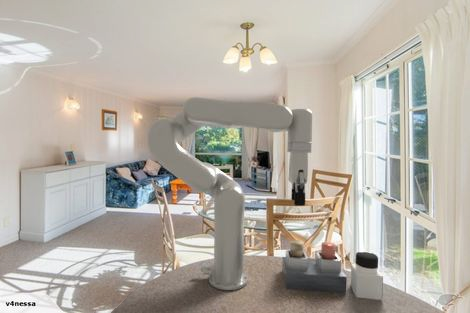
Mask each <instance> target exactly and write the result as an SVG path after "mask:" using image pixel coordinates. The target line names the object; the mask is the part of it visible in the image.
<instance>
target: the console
mask: <svg viewBox="0 0 470 313" xmlns="http://www.w3.org/2000/svg"><path fill="white" fill-rule="evenodd" d="M281 264H282V269H281V270H282V278H283V282H284V288H285V290H295V291H308V292H324V293H325V292H326V293H339V294H340V293H342V294H347V280H348V279H347V278H348V277H347V275H346V273H345V272H344V270H343V269H342V259H341V257H340V256H339V255H338V253H336V252H335V259H325V258H323V257H322V256H321V251H316V252H315V258H313V257H312V258H311V257H309V256H308V254H307V252H306V251H305V250H303V257H300V258H298V257H293V256H291V255H290V249H287V250H285V256H282V263H281Z"/></svg>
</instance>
